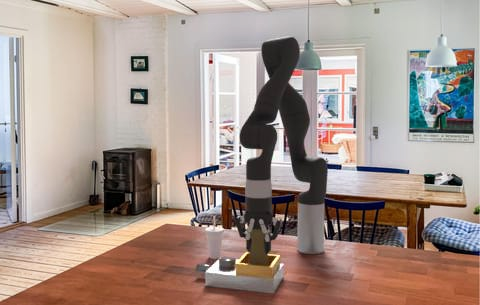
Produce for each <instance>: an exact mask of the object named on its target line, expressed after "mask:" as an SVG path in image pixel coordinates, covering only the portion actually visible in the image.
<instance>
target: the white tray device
mask: <svg viewBox="0 0 480 305" xmlns="http://www.w3.org/2000/svg"><path fill="white" fill-rule="evenodd" d="M249 254H250V253H249V252H248V251H246V252H245V253H243V255H241V257H240V258H239V259H236V258H235V257H232V256H223V257H220V258H217V260H216V261H215V262H214V263H213V264H212V265H211V264H203V263H197V264H196V267H195V270H196V271H195V272H197V273H202V274H204V275H205V276H204V277H205V278H204V280H205V287H215V288H220V289H222V288H223V289H232V290H241V291H247V292H248V291H250V292H255V293H257V292H259V293H266V294H275V292H276V290H277V289H278V287H279V285H280V283H282V282H281V281H282V280H283V278H284V263H281V255H280V254H269V253H268V261H269V266H266V265H256V264H248V262H249Z"/></svg>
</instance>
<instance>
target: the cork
mask: <svg viewBox="0 0 480 305" xmlns="http://www.w3.org/2000/svg"><path fill="white" fill-rule="evenodd" d="M265 236H266V234H264V233H263V231H262V229H258V228H254V229H252V231H251V233H250V237H251V248H250V254H249V262H248V264H256V265H266V266H269V261H268V254H269V253H268V254H266V253H265V241H266V240H265Z"/></svg>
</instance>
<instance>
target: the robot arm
mask: <svg viewBox="0 0 480 305" xmlns="http://www.w3.org/2000/svg"><path fill="white" fill-rule="evenodd" d="M260 51H261V58H262V61H263V62H262V63H263V65H264V67H265V70H266V74H267V76H268V80H267V81H266V82H265V83H264V84H263V86H262V87H261V88H260V90H259V92H258V95H257V97H256V101H255V103H254V106H253V110H252V112H251V113H250V115H249V116H248V117H247V119H246V120H245V122H244V124H243V125H242V127H241V129H240V132H239V142H240V145H241V146H242V147H243V148H244V149H247V150H261V154H259V156H254V157H253V156H252V157H250V158H248V159H247V160H246V162H245V163H246V164H245V171H246V172H245V173H246V174H245V186H244V188H245V190H244V193H245V194H244V196H245V198H244V199H245V201H244V202H245V208H244V209H245V211H244V212H245V213H244V214H243V215H238V216H236V217H235V219H234V221H235V225H236V228H237V231H238V235H239V238H243V239H245V245H246V246H245V247H246V251H247V252H249V253H250V248H251V237H250V233H251V231H252V229H254V228H258V229H262V231H263V233H264V234H266V236H265V240H266V241H265V253H266V254H269V253H270V252H271V251H272V241H275V240H276V239H277V238H278V236H279V232H280V230H281V227H282V224H283V218H277V217H274V215H273V212H272V210H273V209H272V208H273V207H272V205H273V202H272V200H273V199H272V198H273V197H272V196H273V193H272V192H273V190H272V189H273V186H272V178H271V177H272V161H273V157H274V152H275V149H276V146H277V142H278V132H277V130H276V127H275V126H273V125H272V123H274V122H275V121H276V120H277V117H278V114H279V116H280V119H281V123H282V127H283V129H284V133H285V137H286V141H287V145H288V151H289V156H290V163H291V169H292V172H293V175H294V178H295V179H296V180H297V181H299V182H301V183H307V184H309V187H308V190H306V191H303V192H300V193H299V194H298V195H297V240H296V241H297V244H296V246H297V247H296V248H297V249H296V250H297V251H298V252H299V253H302V254H306V255H307V254H308V255H316V254H322V253H323V252H324V251H325V250H324V249H325V247H324V246H325V200H326V199H325V198H326V196H327V187H328V186H327V185H328V184H327V183H328V175H329V174H328V173H329V172H328V163H327V161H326V159H325V158H324V157H320V156H312V155H308V154H307V151H306V146H305V138H306V137H307V133H308V131H309V128H310V124H311V118H310V113H309V110H308V109H309V108H308V104H307V102H306V100H305V98H303V96H302V94H300V93H299V91H297V89H296V88H295V87H294V86H292V85H291V83H290V80H291V78H292V76H293V74H294V71H295V70H296V67H297V66H298V63H299V60H300V55H301V49H300V43H299V42H298V40H297V39H296V38H295V37H294V36H283V37H277V38H271V39H268V40H264V41H263V42H262V45H261V50H260ZM245 221H246V223H247V225H248V226H247V231H246V229H245V226H244V223H245ZM272 222H273V224H272V225H273V226H274V229H273V232H272V234H271V229H270V224H271V223H272Z"/></svg>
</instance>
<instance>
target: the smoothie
mask: <svg viewBox="0 0 480 305" xmlns="http://www.w3.org/2000/svg"><path fill="white" fill-rule="evenodd" d="M204 230H205V231H204V233H205V235H206V243H207V250H208V257H209V258H210V259H211V260H212V259H214V260H215V259H217V260H218V259H220V258H221V253H222V244H223V242H222V241H223V236H224V234H223V233H225V229H224V227H220V226H216V215H213V226H209V227H206V228H205V229H204Z"/></svg>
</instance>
